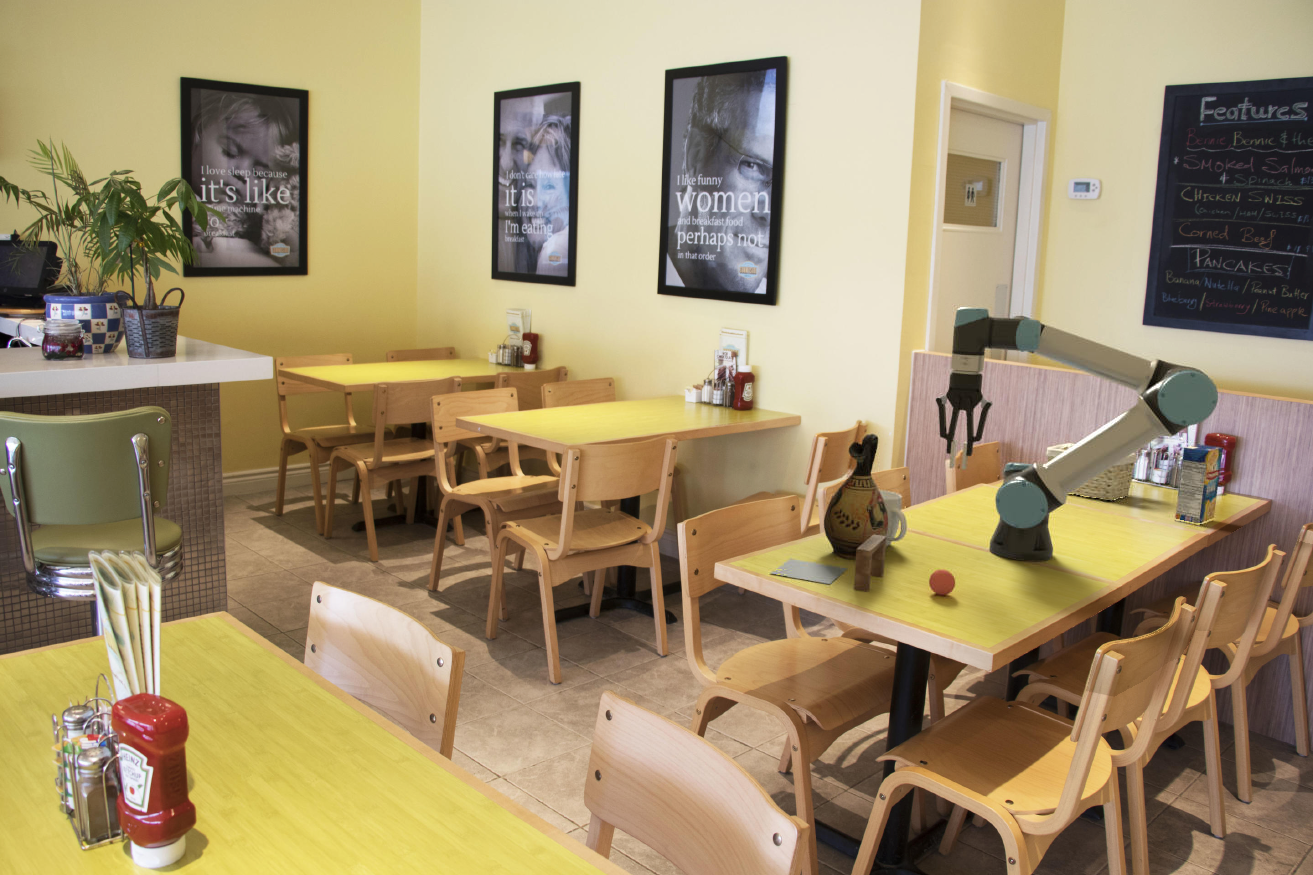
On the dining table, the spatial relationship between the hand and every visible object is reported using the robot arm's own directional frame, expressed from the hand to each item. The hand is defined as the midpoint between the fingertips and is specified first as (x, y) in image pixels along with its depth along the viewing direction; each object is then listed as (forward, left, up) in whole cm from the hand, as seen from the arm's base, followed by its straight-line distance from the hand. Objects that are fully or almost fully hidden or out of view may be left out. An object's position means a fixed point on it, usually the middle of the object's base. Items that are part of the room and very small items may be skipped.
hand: (957, 467), depth 251 cm
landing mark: (+26, +32, -22) cm, 47 cm away
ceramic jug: (+21, +11, -23) cm, 33 cm away
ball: (-4, +32, -20) cm, 38 cm away
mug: (+18, -1, -23) cm, 29 cm away
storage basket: (-25, -104, -23) cm, 110 cm away
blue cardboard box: (-56, -82, -23) cm, 102 cm away
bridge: (+12, +32, -22) cm, 41 cm away
